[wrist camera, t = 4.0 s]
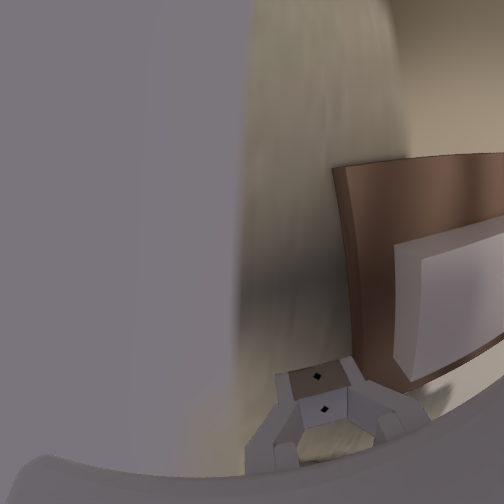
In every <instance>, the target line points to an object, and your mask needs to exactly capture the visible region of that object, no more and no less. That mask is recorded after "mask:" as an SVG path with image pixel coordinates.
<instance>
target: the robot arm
mask: <svg viewBox="0 0 504 504" xmlns="http://www.w3.org/2000/svg"><path fill="white" fill-rule="evenodd" d="M288 373H289V374H288ZM275 381H276V388H277V395H278V401H279V404H277V405H275V406H274V407H273V409H272V410H271V412H270V413H269V415H268V416H267V417H266V419H265V420H264V422H263V423H262V425H261V426H260V428H259V429H258V430H257V432H256V433H255V435H254V436H253V437H252V439H251V440H250V441H249V443H248V444H247V445H246V447H245V475H244V476H231V477H209V478H208V477H207V478H191V477H190V478H189V477H165V476H153V475H143V474H135V473H127V472H121V471H115V470H110V469H104V468H99V467H95V466H90V465H86V464H82V463H78V462H74V461H71V460H67V459H64V458H61V457H57V456H54V455H50V454H43V455H40V456H39V457H37V458H35V459H34V460H32V461H30V462H29V463H27V464H26V465H24V466H23V467H22V468H21V469H20V470H19V472H18V474H17V476H16V478H15V480H14V482H13V485H12V487H11V489H10V492H9V494H8V497H7V500H6V503H5V504H504V376H502V377H501V378H500V379H498V380H497V381H496V382H494V383H493V384H492V385H490V386H489V387H488V388H486V389H485V390H483V391H482V392H480V393H479V394H477V395H476V396H475V397H473V398H471V399H470V400H468V401H467V402H465V403H463V404H462V405H460V406H458V407H457V408H455V409H453V410H452V411H450V412H448V413H446V414H444V415H443V416H441V417H439V418H437V419H435V420H433V421H431V419H430V418H429V416H428V415H427V413H426V412H425V410H424V409H423V407H422V406H421V404H420V403H419V401H418V400H416V399H414V398H411V397H409V396H406V395H404V394H401V393H399V392H396V391H394V390H392V389H389V388H387V387H384V386H382V385H380V384H377V383H375V382H373V381H370V380H368V381H365V379H364V377H363V375H362V374H361V372H360V370H359V368H358V366H357V365H356V363H355V361H354V359H353V357H352V356H347V357H344V358H340V359H338V360H334V361H331V362H327V363H324V364H320V365H316V366H312V367H308V368H303V369H299V370H294V371H289V372H285V373H280V374H275ZM344 418H347V419H349V420H350V421H352V422H353V423H355V424H356V425H358V426H359V427H360V428H362V429H363V430H365V431H366V432H368V433H369V434H371V435H373V436H374V437H375V438H374V443H373V447H371V448H369V449H366V450H363V451H360V452H357V453H354V454H351V455H347V456H344V457H340V458H337V459H333V460H330V461H326V462H322V463H318V464H313V465H309V466H304V467H300V462H299V458H298V454H297V449H296V447H297V445H298V443H299V441H300V439H301V436H302V434H303V432H304V429H307V428H310V427H314V426H318V425H321V424H325V423H329V422H333V421H337V420H341V419H344Z"/></svg>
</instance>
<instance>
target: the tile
mask: <svg viewBox="0 0 504 504" xmlns="http://www.w3.org/2000/svg"><path fill="white" fill-rule="evenodd" d="M394 257H395V291H396V300H395V334H394V350H393V358H394V359H395V361H396V362H397V363H398V365H399V366H400V368H401V369H402V370H403V372H404V373H405V375H406V376H407V377H408V379H409V380H410V382H413V381H415V380H417V379H419V378H422V377H424V376H426V375H428V374H431V373H433V372H435V371H437V370H439V369H441V368H443V367H445V366H447V365H449V364H451V363H453V362H455V361H457V360H458V359H460V358H462V357H464V356H466V355H468V354H469V353H471V352H473V351H475V350H476V349H478V348H480V347H481V346H483V345H485V344H486V343H488V342H489V341H491V340H493V339H494V338H496V337H497V336H499V335H500V334H502V333H503V332H504V215H502V216H499V217H495V218H492V219H489V220H485V221H482V222H478V223H474V224H471V225H467V226H464V227H460V228H456V229H453V230H449V231H445V232H442V233H438V234H434V235H430V236H427V237H423V238H419V239H415V240H411V241H407V242H403V243H399V244H396V245H394Z"/></svg>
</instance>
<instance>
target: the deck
mask: <svg viewBox="0 0 504 504" xmlns="http://www.w3.org/2000/svg"><path fill="white" fill-rule="evenodd" d="M332 172H333V177H334V183H335V188H336V194H337V199H338V205H339V212H340V218H341V225H342V232H343V239H344V247H345V255H346V264H347V273H348V283H349V295H350V308H351V323H352V345H353V359H354V361H355V363H356V365H357V366H358V368H359V370H360V372H361V374H362V375H363V377H364V379H365V381H368V380H370V381H373V382H375V383H377V384H380V385H382V386H384V387H387V388H389V389H392V390H394V391H396V392H399V393H401V394H403V393H405V392H408V391H410V390H412V389H415V388H417V387H419V386H421V385H424V384H426V383H428V382H430V381H432V380H434V379H436V378H438V377H440V376H442V375H444V374H446V373H448V372H450V371H452V370H454V369H456V368H457V367H459V366H461V365H463V364H465V363H467V362H468V361H470V360H472V359H474V358H475V357H477V356H479V355H480V354H482V353H483V352H485V351H487V350H488V349H490V348H491V347H492V346H494V345H496V344H497V343H499V342H500V341H502V340H503V339H504V332H503V333H502V334H500V335H499V336H497V337H496V338H494V339H493V340H491V341H489V342H488V343H486V344H485V345H483V346H481V347H480V348H478V349H476V350H475V351H473V352H471V353H469V354H468V355H466V356H464V357H462V358H460V359H458V360H457V361H455V362H453V363H451V364H449V365H447V366H445V367H443V368H441V369H439V370H437V371H435V372H433V373H431V374H428V375H426V376H424V377H422V378H419V379H417V380H415V381H413V382H410V380H409V379H408V377H407V376H406V375H405V373H404V372H403V370H402V369H401V368H400V366H399V365H398V363H397V362H396V361H395V359H394V358H393V350H394V334H395V300H396V291H395V257H394V245H396V244H399V243H403V242H407V241H411V240H415V239H419V238H423V237H427V236H430V235H434V234H438V233H442V232H445V231H449V230H453V229H456V228H460V227H464V226H467V225H471V224H474V223H478V222H482V221H485V220H489V219H492V218H495V217H499V216H502V215H504V153H474V154H455V155H441V156H428V157H417V158H407V159H398V160H389V161H381V162H373V163H366V164H358V165H352V166H345V167H338V168H332Z"/></svg>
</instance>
